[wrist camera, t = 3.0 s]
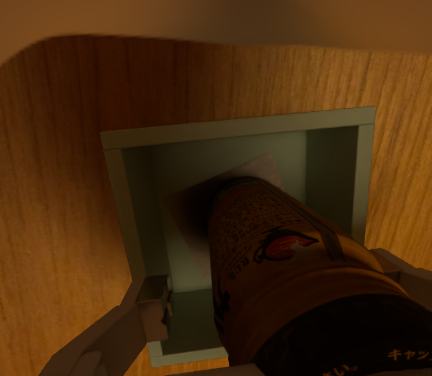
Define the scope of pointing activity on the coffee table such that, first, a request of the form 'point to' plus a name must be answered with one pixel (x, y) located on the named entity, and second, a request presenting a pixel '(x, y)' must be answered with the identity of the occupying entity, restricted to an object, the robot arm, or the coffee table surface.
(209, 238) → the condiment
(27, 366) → the coffee table surface
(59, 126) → the coffee table surface
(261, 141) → the tray
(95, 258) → the coffee table surface
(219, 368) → the robot arm
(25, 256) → the coffee table surface
